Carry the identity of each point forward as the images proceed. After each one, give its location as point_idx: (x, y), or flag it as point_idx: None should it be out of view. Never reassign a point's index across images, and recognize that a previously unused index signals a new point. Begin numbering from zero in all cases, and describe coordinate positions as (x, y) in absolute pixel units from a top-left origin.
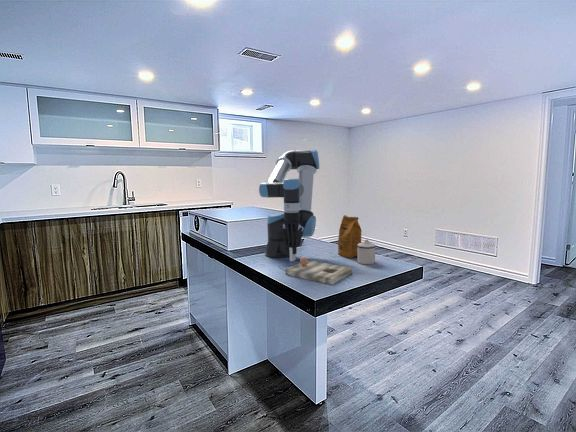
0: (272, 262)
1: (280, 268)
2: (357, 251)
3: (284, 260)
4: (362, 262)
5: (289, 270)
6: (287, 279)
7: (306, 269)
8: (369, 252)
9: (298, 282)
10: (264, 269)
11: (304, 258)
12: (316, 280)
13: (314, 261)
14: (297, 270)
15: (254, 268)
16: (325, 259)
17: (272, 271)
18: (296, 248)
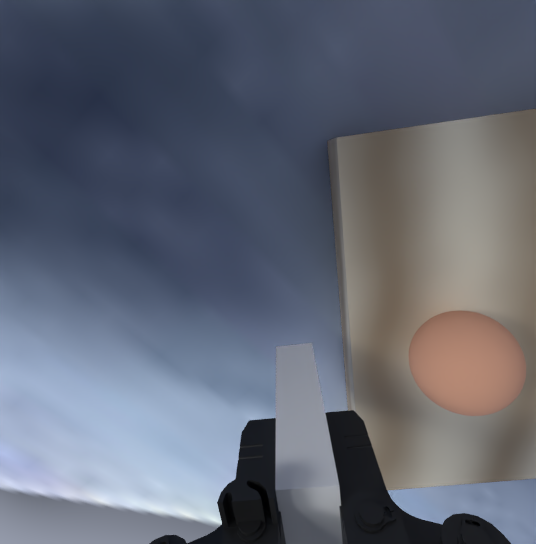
0: (15, 316)
1: (213, 388)
2: None
3: (23, 188)
4: None
5: (398, 482)
6: (432, 509)
7: (530, 408)
8: None
9: (529, 507)
10: (146, 470)
11: (509, 403)
12: None
13: (455, 135)
14: (472, 467)
15: (76, 494)
16: None
17: (227, 466)
18: (383, 482)
